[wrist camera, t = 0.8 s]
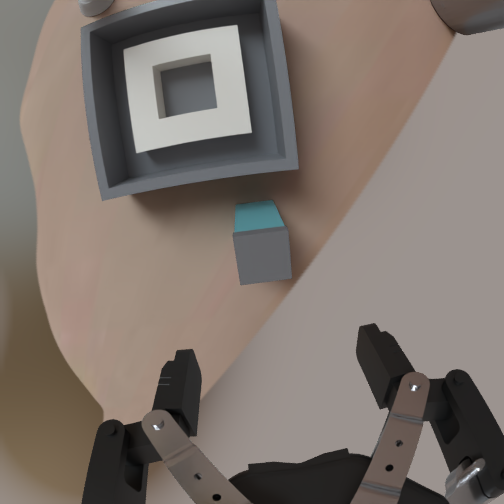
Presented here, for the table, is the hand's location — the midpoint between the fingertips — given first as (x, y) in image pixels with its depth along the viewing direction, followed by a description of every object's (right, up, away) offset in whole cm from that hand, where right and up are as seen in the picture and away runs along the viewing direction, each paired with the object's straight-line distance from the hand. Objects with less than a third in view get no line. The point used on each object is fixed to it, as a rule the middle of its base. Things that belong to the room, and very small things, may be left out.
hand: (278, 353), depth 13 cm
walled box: (-8, +21, +13) cm, 26 cm away
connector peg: (-1, +8, +19) cm, 20 cm away
